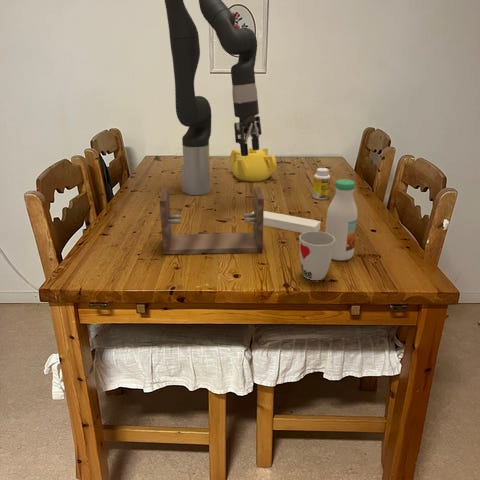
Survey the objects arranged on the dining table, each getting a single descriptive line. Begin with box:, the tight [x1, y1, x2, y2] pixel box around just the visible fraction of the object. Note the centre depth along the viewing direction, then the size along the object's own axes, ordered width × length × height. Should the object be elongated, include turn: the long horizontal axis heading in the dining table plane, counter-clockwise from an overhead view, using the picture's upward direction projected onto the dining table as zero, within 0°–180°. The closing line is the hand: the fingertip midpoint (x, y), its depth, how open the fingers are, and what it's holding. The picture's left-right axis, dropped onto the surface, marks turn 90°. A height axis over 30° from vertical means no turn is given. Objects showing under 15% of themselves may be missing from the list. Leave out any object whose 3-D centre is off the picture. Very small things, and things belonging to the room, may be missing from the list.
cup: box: [298, 230, 335, 281], centre depth 109 cm, size 8×8×10 cm
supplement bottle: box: [312, 167, 331, 201], centre depth 161 cm, size 6×6×10 cm
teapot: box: [228, 146, 278, 183], centre depth 183 cm, size 17×17×12 cm
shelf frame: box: [159, 186, 265, 255], centre depth 123 cm, size 26×10×15 cm, turn 94°
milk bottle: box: [324, 178, 358, 261], centre depth 118 cm, size 8×8×20 cm
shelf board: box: [248, 210, 321, 234], centre depth 139 cm, size 21×5×3 cm, turn 62°
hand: (250, 152), depth 147 cm, fingers open, 8 cm apart
